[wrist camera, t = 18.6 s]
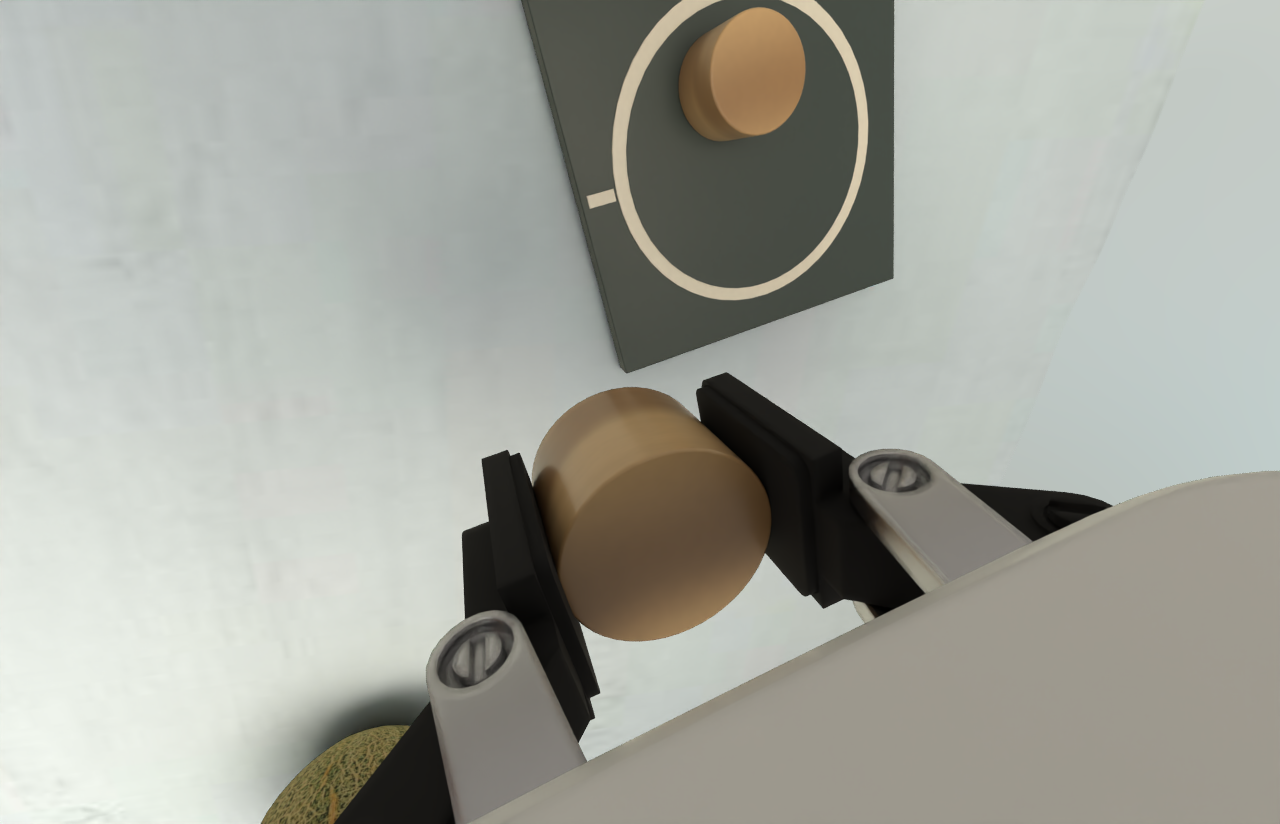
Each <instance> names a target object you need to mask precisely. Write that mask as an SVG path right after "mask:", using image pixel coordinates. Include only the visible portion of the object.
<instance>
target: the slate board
mask: <svg viewBox="0 0 1280 824" xmlns="http://www.w3.org/2000/svg"><path fill="white" fill-rule="evenodd" d="M521 1H522V4H523V8H524V12H525V15H526V19H527V23H528V26H529V30H530V34H531V38H532V41H533V45H534V49H535V52H536V56H537V60H538V63H539V67H540V71H541V75H542V78H543V82H544V86H545V89H546V93H547V97H548V100H549V104H550V108H551V112H552V115H553V119H554V123H555V126H556V130H557V134H558V137H559V141H560V145H561V149H562V152H563V156H564V160H565V163H566V167H567V171H568V174H569V178H570V182H571V186H572V189H573V193H574V197H575V200H576V204H577V208H578V211H579V215H580V219H581V223H582V226H583V230H584V234H585V237H586V241H587V245H588V248H589V252H590V256H591V260H592V263H593V267H594V271H595V274H596V278H597V282H598V285H599V289H600V293H601V297H602V300H603V304H604V308H605V311H606V315H607V319H608V322H609V326H610V330H611V334H612V337H613V341H614V345H615V348H616V352H617V356H618V359H619V363H620V367H621V368H622V369H623V370H624V371H625V372H626V373H630V372H632V371H635V370H638V369H641V368H644V367H646V366H649V365H652V364H655V363H658V362H660V361H663V360H666V359H669V358H672V357H674V356H677V355H680V354H683V353H686V352H688V351H691V350H694V349H697V348H700V347H702V346H705V345H708V344H711V343H714V342H716V341H719V340H722V339H725V338H728V337H730V336H733V335H736V334H739V333H742V332H744V331H747V330H750V329H753V328H756V327H758V326H761V325H764V324H767V323H770V322H772V321H775V320H778V319H781V318H784V317H786V316H789V315H792V314H795V313H798V312H800V311H803V310H806V309H809V308H812V307H814V306H817V305H820V304H823V303H826V302H828V301H831V300H834V299H837V298H839V297H842V296H845V295H848V294H851V293H853V292H856V291H859V290H862V289H865V288H867V287H870V286H873V285H876V284H879V283H881V282H884V281H887V280H890V279H893V248H894V0H521ZM756 7H763V8H768V9H772V10H774V11H776V12H778V13H780V14H781V15H783V16H784V17H785V18H786V19H787V20H789V22H790V23H791V24H792V25H793V27H794V28H795V30H796V31H797V33H798V36H799V38H800V40H801V43H802V46H803V50H804V55H805V81H804V86H803V90H802V94H801V97H800V99H799V102H798V104H797V106H796V108H795V109H794V111H793V113H792V114H791V115H790V117H789V118H788V119H787V120H786V121H785V122H784V123H783V124H782V125H781V126H780V127H778V128H777V129H776V130H774V131H772V132H770V133H767V134H764V135H759V136H753V137H747V138H741V139H735V140H729V141H713V140H710V139H707V138H705V137H703V136H702V135H700V134H699V133H698V132H697V131H696V130H695V129H694V128H693V127H692V126H691V125H690V123H689V122H688V120H687V119H686V117H685V114H684V112H683V109H682V107H681V103H680V98H679V75H680V70H681V66H682V63H683V60H684V58H685V56H686V54H687V52H688V50H689V49H690V47H691V46H692V45H693V43H694V42H695V41H696V40H697V39H698V38H700V37H701V36H702V35H704V34H705V33H707V32H709V31H710V30H712V29H714V28H715V27H717V26H719V25H720V24H722V23H724V22H725V21H727V20H729V19H730V18H732V17H734V16H735V15H737V14H739V13H740V12H742V11H744V10H747V9H750V8H756Z"/></svg>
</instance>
